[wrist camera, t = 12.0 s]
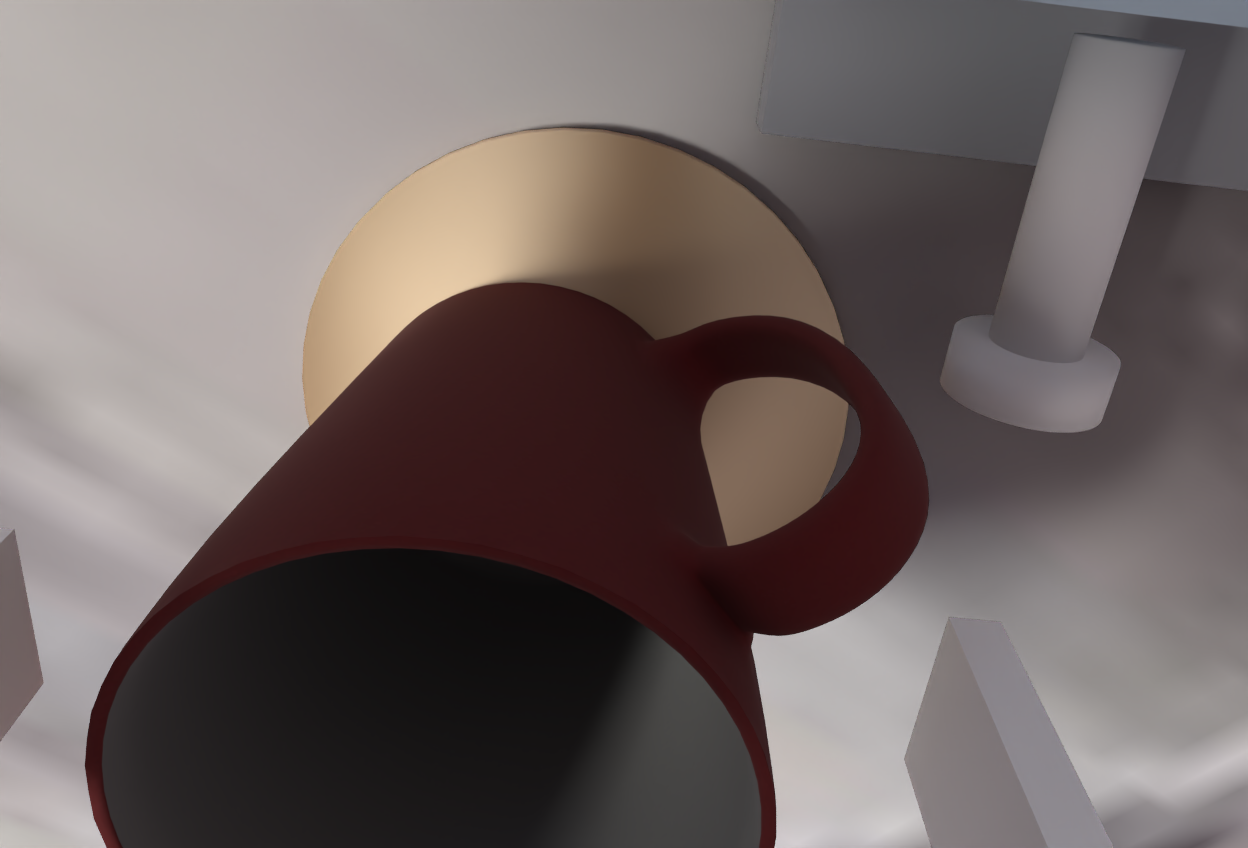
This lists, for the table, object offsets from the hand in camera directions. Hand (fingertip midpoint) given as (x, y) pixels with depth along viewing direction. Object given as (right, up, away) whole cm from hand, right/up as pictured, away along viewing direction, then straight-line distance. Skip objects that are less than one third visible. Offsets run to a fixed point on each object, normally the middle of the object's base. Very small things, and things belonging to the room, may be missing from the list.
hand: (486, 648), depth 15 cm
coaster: (+1, +4, +8) cm, 9 cm away
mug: (+1, +4, +8) cm, 9 cm away
